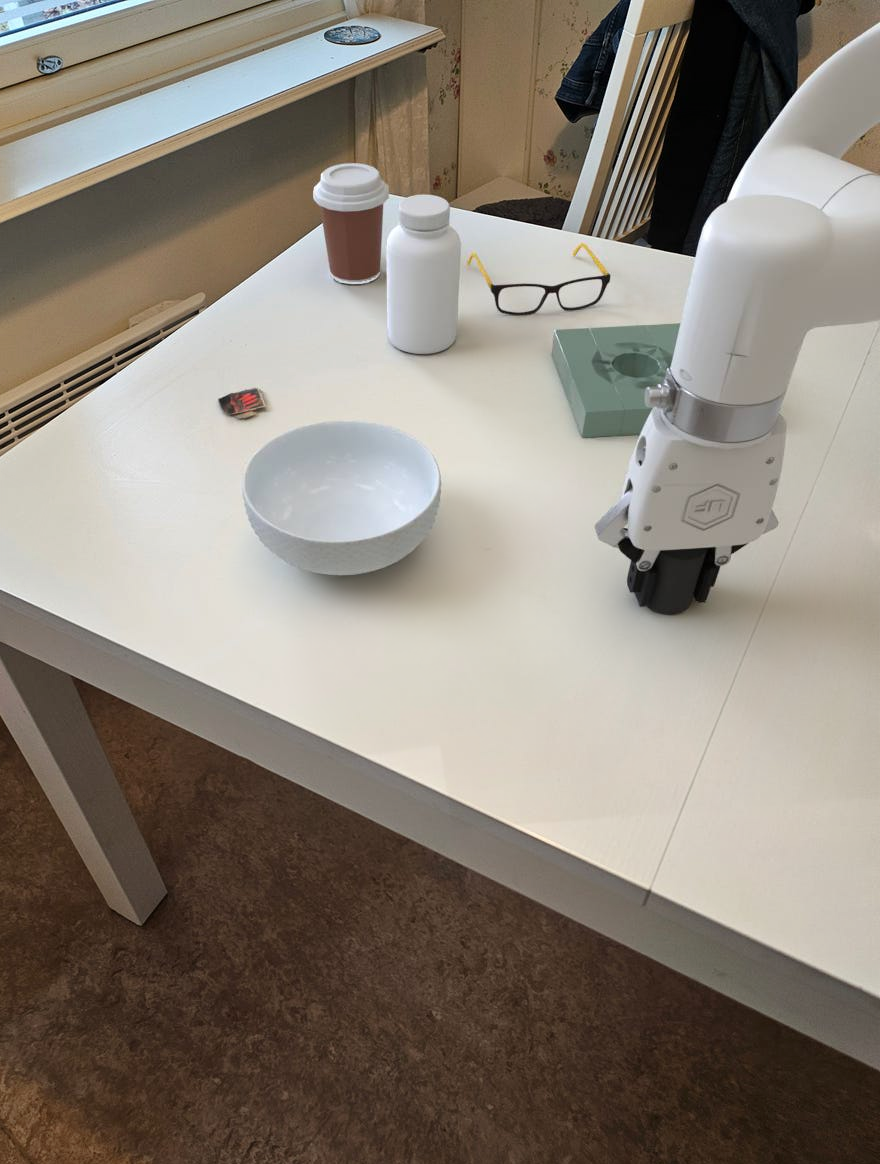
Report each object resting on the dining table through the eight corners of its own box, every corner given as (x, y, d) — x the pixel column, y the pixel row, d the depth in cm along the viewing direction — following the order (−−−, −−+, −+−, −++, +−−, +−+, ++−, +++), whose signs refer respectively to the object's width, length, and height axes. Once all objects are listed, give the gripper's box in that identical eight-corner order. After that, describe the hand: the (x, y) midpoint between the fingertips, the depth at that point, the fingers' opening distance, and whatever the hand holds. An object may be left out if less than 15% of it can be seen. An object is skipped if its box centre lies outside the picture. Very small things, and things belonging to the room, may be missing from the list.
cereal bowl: (457, 592, 75) (460, 527, 70) (258, 618, 73) (246, 553, 68) (421, 470, 86) (421, 407, 81) (247, 490, 85) (236, 426, 80)
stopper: (682, 579, 76) (698, 524, 71) (696, 613, 73) (714, 558, 69) (636, 582, 76) (649, 527, 71) (648, 616, 73) (662, 561, 68)
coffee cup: (364, 297, 110) (359, 195, 101) (305, 279, 114) (295, 179, 105) (404, 267, 115) (403, 168, 106) (347, 251, 119) (341, 154, 110)
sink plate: (709, 345, 101) (715, 321, 99) (758, 427, 90) (766, 401, 88) (551, 354, 100) (554, 329, 98) (581, 437, 90) (585, 412, 87)
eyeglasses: (491, 320, 106) (493, 288, 103) (466, 265, 115) (467, 234, 112) (608, 309, 107) (614, 277, 104) (574, 256, 117) (578, 224, 114)
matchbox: (213, 402, 95) (212, 398, 94) (256, 386, 97) (256, 383, 96) (233, 423, 92) (233, 419, 92) (277, 407, 94) (277, 403, 94)
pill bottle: (446, 361, 100) (449, 224, 89) (378, 350, 102) (373, 214, 91) (465, 327, 105) (471, 193, 94) (400, 316, 107) (398, 184, 96)
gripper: (611, 439, 58) (576, 633, 71) (867, 423, 58) (783, 618, 72) (586, 376, 63) (557, 568, 76) (821, 362, 63) (751, 555, 77)
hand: (667, 591), depth 74 cm, fingers closed on stopper, 4 cm apart
